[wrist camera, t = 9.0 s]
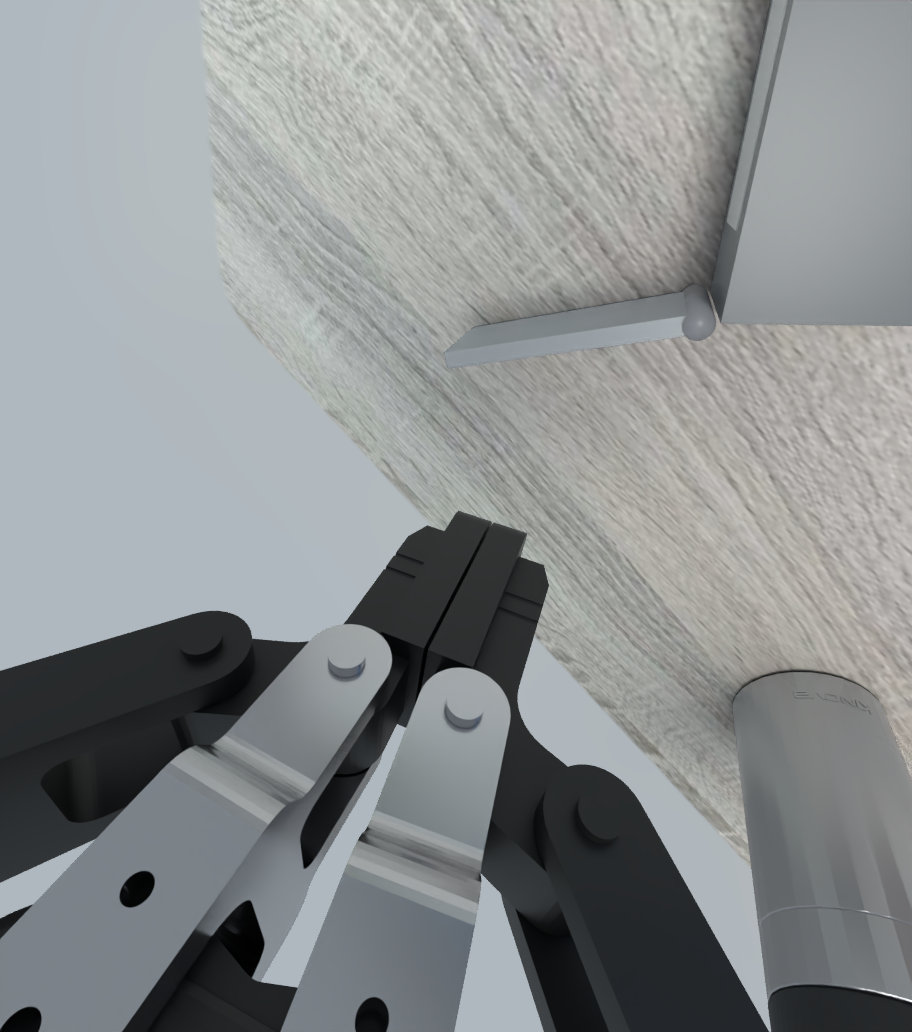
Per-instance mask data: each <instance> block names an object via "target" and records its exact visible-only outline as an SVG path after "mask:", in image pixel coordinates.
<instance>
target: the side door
mask: <svg viewBox="0 0 912 1032" xmlns="http://www.w3.org/2000/svg"><path fill="white" fill-rule="evenodd" d="M715 326H716V319H715V315H714V312H713V309H712V306H711V303H710V299H709V296H708V293H707V290H706V288H705V287H704V286H702V285H700V284H692V285H689V286H688V287H686V288H685V289H684V290H683V292H678V293H672V294H666V295H660V296H655V297H649V298H643V299H637V300H631V301H625V302H619V303H613V304H607V305H602V306H596V307H590V308H584V309H578V310H572V311H566V312H560V313H555V314H549V315H543V316H537V317H531V318H525V319H519V320H513V321H507V322H502V323H496V324H490V325H484V326H478V327H473V328H472V329H471V330H470V331H468V332H467V333H466V334H465V335H464V336H463V337H461V338H460V339H459V340H458V341H457V342H456V343H454V344H453V345H452V346H451V347H450V348H449V349H447V350H446V351H445V352H444V355H445V359H446V364H447V368H448V369H449V368H456V367H464V366H471V365H478V364H486V363H493V362H500V361H507V360H515V359H522V358H529V357H537V356H544V355H551V354H558V353H566V352H573V351H580V350H588V349H595V348H602V347H609V346H617V345H624V344H631V343H639V342H646V341H653V340H660V339H668V338H675V337H682V336H686V337H687V338H688V339H690V340H694V341H699V340H703V339H705V338H707V337H708V336H710V335H711V334H712V332H713V331H714V329H715Z"/></svg>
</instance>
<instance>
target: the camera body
mask: <svg viewBox="0 0 912 1032" xmlns="http://www.w3.org/2000/svg"><path fill="white" fill-rule="evenodd" d="M710 293H711V296H712V299H713V302H714V305H715V308H716V311H717V314H718V317H719V320H720V323H721V324H796V325H876V326H912V0H770V5H769V10H768V15H767V19H766V24H765V29H764V34H763V39H762V44H761V48H760V53H759V58H758V63H757V68H756V73H755V77H754V82H753V87H752V92H751V97H750V102H749V107H748V111H747V116H746V121H745V126H744V131H743V136H742V140H741V145H740V150H739V155H738V160H737V165H736V169H735V174H734V179H733V184H732V189H731V194H730V198H729V203H728V208H727V213H726V218H725V223H724V227H723V232H722V237H721V242H720V247H719V252H718V256H717V261H716V266H715V271H714V276H713V281H712V286H711V290H710Z"/></svg>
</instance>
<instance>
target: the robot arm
mask: <svg viewBox="0 0 912 1032" xmlns="http://www.w3.org/2000/svg"><path fill="white" fill-rule="evenodd" d="M491 525H492V526H491ZM526 536H527V533H524V532H521V531H518V530H515V529H512V528H509V527H506V526H503V525H500V524H497V523H493V524H492V522H491V521H488V520H485V519H482V518H479V517H476V516H473V515H470V514H467V513H464V512H461V511H458V512H457V513H456V514H455V516H454V517H453V519H452V521H451V522H450V524H449V525H448V527H447V528H446V530H445V531H442V530H439V529H436V528H433V527H430V526H426V527H424V528H422V529H421V530H419V531H417V532H415V533H413V534H412V535H410V536H408V537H407V539H406V540H405V542H404V543H403V544H402V545H401V547H400V548H399V550H398V551H397V552H396V555H395V556H393V558H392V559H391V561H390V562H389V563H388V565H387V566H386V569H385V570H383V571H382V573H381V574H380V576H379V577H378V578H377V580H376V581H375V583H374V584H373V585H372V587H371V588H370V589H369V591H368V592H367V593H366V595H365V596H364V598H363V599H362V600H361V602H360V603H359V604H358V606H357V607H356V609H355V610H354V611H353V613H352V614H351V615H350V617H349V618H348V620H347V621H346V622H345V623H344V624H343V625H337V626H333V627H331V628H328V629H326V630H324V631H322V632H320V633H318V634H317V635H316V636H315V637H314V638H312V639H311V640H310V641H308V642H283V641H271V640H259V639H252V635H251V631H250V628H249V627H248V625H247V624H246V623H245V621H244V620H242V619H241V618H239V617H238V616H236V615H234V614H231V613H228V612H222V611H207V612H200V613H196V614H192V615H189V616H185V617H182V618H178V619H175V620H172V621H168V622H165V623H161V624H158V625H155V626H151V627H148V628H144V629H141V630H137V631H134V632H131V633H127V634H124V635H121V636H117V637H114V638H110V639H107V640H104V641H100V642H97V643H93V644H90V645H87V646H83V647H80V648H76V649H73V650H70V651H66V652H63V653H59V654H56V655H53V656H49V657H46V658H42V659H39V660H36V661H32V662H29V663H26V664H22V665H19V666H15V667H12V668H9V669H5V670H2V671H0V882H3V881H4V880H7V879H9V878H11V877H13V876H16V875H18V874H20V873H22V872H24V871H27V870H29V869H31V868H33V867H35V866H37V865H40V864H42V863H44V862H46V861H48V860H50V859H52V858H55V857H57V856H59V855H61V854H64V853H66V852H68V851H70V850H72V849H74V848H77V847H79V846H81V845H83V844H85V843H87V842H90V841H92V840H94V839H95V840H94V841H93V843H92V844H91V845H90V846H89V847H88V848H87V849H86V850H85V851H84V852H83V853H82V854H81V855H80V856H79V857H78V858H77V859H76V860H75V861H74V863H72V865H71V866H70V867H69V868H68V869H67V870H66V871H65V872H64V873H63V874H62V875H61V876H60V877H59V878H58V879H57V880H56V881H55V882H54V883H53V884H52V885H51V887H50V888H49V889H48V890H47V891H46V892H45V893H44V894H43V895H42V896H41V897H40V898H39V899H38V900H37V901H36V902H35V903H34V904H33V905H30V906H28V907H25V908H23V909H20V910H18V911H15V912H13V913H11V914H9V915H7V916H5V917H3V918H0V1032H454V1029H455V1025H456V1019H457V1014H458V1009H459V1004H460V999H461V993H462V988H463V983H464V978H465V973H466V968H467V963H468V958H469V953H470V947H471V942H472V937H473V932H474V927H475V922H476V916H477V910H478V904H479V898H480V890H481V876H480V875H481V874H482V875H483V876H484V877H485V878H486V879H487V880H488V881H489V882H490V883H491V884H492V885H493V886H494V887H495V888H496V889H497V890H498V891H499V892H500V893H501V895H502V901H503V904H504V908H505V911H506V914H507V917H508V921H509V924H510V927H511V930H512V933H513V936H514V939H515V942H516V946H517V949H518V952H519V955H520V958H521V961H522V964H523V967H524V970H525V974H526V977H527V980H528V983H529V986H530V989H531V992H532V995H533V999H534V1002H535V1005H536V1008H537V1011H538V1014H539V1017H540V1020H541V1024H542V1026H543V1030H544V1032H769V1031H768V1029H767V1027H766V1026H765V1024H764V1022H763V1020H762V1019H761V1017H760V1015H759V1014H758V1011H757V1010H756V1008H755V1006H754V1004H753V1003H752V1001H751V999H750V997H749V996H748V994H747V992H746V991H745V988H744V987H743V985H742V983H741V981H740V980H739V978H738V976H737V974H736V972H735V971H734V969H733V967H732V965H731V963H730V962H729V960H728V958H727V956H726V955H725V953H724V951H723V949H722V947H721V946H720V944H719V942H718V940H717V939H716V937H715V935H714V933H713V931H712V930H711V928H710V926H709V924H708V923H707V921H706V919H705V917H704V916H703V914H702V912H701V910H700V908H699V907H698V905H697V903H696V901H695V899H694V898H693V896H692V894H691V892H690V890H689V889H688V887H687V885H686V883H685V882H684V880H683V878H682V876H681V875H680V873H679V871H678V869H677V867H676V866H675V864H674V862H673V860H672V859H671V857H670V855H669V853H668V851H667V850H666V848H665V846H664V844H663V843H662V841H661V839H660V837H659V836H658V834H657V832H656V830H655V828H654V826H653V825H652V823H651V821H650V819H649V818H648V816H647V814H646V813H645V811H644V809H643V807H642V805H641V803H640V802H639V800H638V799H637V797H636V796H635V794H634V793H633V792H632V791H631V790H630V789H629V787H628V786H627V785H626V784H625V783H624V782H622V781H621V780H620V779H619V778H617V777H616V776H615V775H613V774H611V773H610V772H608V771H606V770H604V769H601V768H599V767H596V766H591V765H573V766H569V767H567V766H566V765H565V764H564V763H563V762H561V761H560V760H559V759H558V758H556V757H555V756H554V755H553V754H551V753H550V752H549V751H547V749H545V748H544V747H543V746H542V745H541V744H540V743H539V742H538V741H536V740H535V739H534V737H533V736H532V735H531V734H530V732H529V731H528V730H527V728H526V726H525V725H524V722H523V720H522V718H521V715H520V712H519V709H518V702H517V693H518V689H519V684H520V681H521V678H522V674H523V671H524V668H525V664H526V661H527V657H528V654H529V651H530V647H531V644H532V641H533V637H534V634H535V630H536V627H537V623H538V620H539V617H540V614H541V610H542V607H543V603H544V600H545V597H546V593H547V590H548V587H549V584H548V580H547V576H546V572H545V568H544V565H542V564H539V563H536V562H533V561H530V560H527V559H524V558H521V553H522V550H523V547H524V543H525V540H526ZM733 719H734V727H735V735H736V744H737V752H738V762H739V771H740V779H741V787H742V795H743V803H744V812H745V820H746V828H747V836H748V845H749V853H750V861H751V869H752V876H753V886H754V894H755V901H756V910H757V919H758V926H759V932H760V941H761V949H762V957H763V965H764V974H765V982H766V990H767V997H768V1009H769V1017H770V1024H771V1032H912V779H911V777H910V774H909V772H908V769H907V767H906V764H905V761H904V759H903V756H902V753H901V751H900V748H899V746H898V743H897V741H896V738H895V736H894V733H893V731H892V728H891V726H890V723H889V721H888V718H887V716H886V713H885V711H884V709H883V707H882V705H881V704H880V702H879V701H878V700H877V699H876V698H875V697H874V696H873V695H872V694H871V693H870V692H868V691H867V690H865V689H864V688H862V687H861V686H859V685H857V684H854V683H852V682H850V681H847V680H845V679H842V678H838V677H834V676H830V675H826V674H819V673H811V672H789V673H780V674H775V675H771V676H767V677H763V678H760V679H758V680H756V681H754V682H751V683H750V684H748V685H747V686H745V687H744V688H743V689H741V691H740V692H739V693H738V694H737V695H736V697H735V700H734V702H733ZM397 724H399V725H401V726H403V727H406V730H405V733H404V735H403V738H402V741H401V743H400V746H399V748H398V751H397V754H396V756H395V759H394V761H393V764H392V767H391V769H390V772H389V775H388V777H387V779H386V782H385V785H384V787H383V790H382V792H381V795H380V797H379V800H378V803H377V805H376V808H375V810H374V813H373V815H372V818H371V820H370V822H369V825H368V827H367V829H366V830H365V831H364V832H363V833H362V834H361V836H360V837H359V839H358V841H357V843H356V845H355V847H354V849H353V851H352V854H351V856H350V858H349V860H348V863H347V865H346V868H345V871H344V873H343V875H342V878H341V881H340V883H339V885H338V888H337V890H336V893H335V895H334V898H333V900H332V903H331V906H330V908H329V910H328V913H327V916H326V918H325V921H324V923H323V926H322V928H321V931H320V933H319V936H318V938H317V941H316V943H315V946H314V948H313V951H312V953H311V956H310V958H309V961H308V964H307V966H306V969H305V971H304V974H303V976H302V979H301V981H300V984H299V986H298V988H296V987H289V986H282V985H275V984H269V983H262V982H261V980H262V978H263V976H264V975H265V973H266V971H267V970H268V968H269V966H270V964H271V963H272V961H273V959H274V957H275V956H276V954H277V952H278V951H279V949H280V947H281V945H282V944H283V942H284V940H285V938H286V936H287V935H288V933H289V931H290V930H291V927H292V926H293V924H294V922H295V920H296V918H297V916H298V914H299V912H300V910H301V907H302V905H303V903H304V900H305V897H306V895H307V891H308V889H309V886H310V883H311V881H312V879H313V877H314V875H315V873H316V871H317V869H318V867H319V865H320V864H321V862H322V860H323V859H324V857H325V855H326V853H327V852H328V850H329V848H330V847H331V845H332V843H333V841H334V840H335V838H336V836H337V835H338V833H339V831H340V830H341V828H342V826H343V825H344V823H345V821H346V819H347V818H348V816H349V814H350V813H351V811H352V809H353V807H354V806H355V804H356V802H357V800H358V799H359V797H360V796H361V794H362V792H363V790H364V789H365V787H366V785H367V784H368V782H369V780H370V779H371V777H372V775H373V774H374V772H375V770H376V768H377V767H378V764H379V763H380V760H381V756H382V752H383V751H384V749H385V747H386V745H387V743H388V741H389V739H390V737H391V735H392V733H393V731H394V729H395V727H396V725H397Z"/></svg>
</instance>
